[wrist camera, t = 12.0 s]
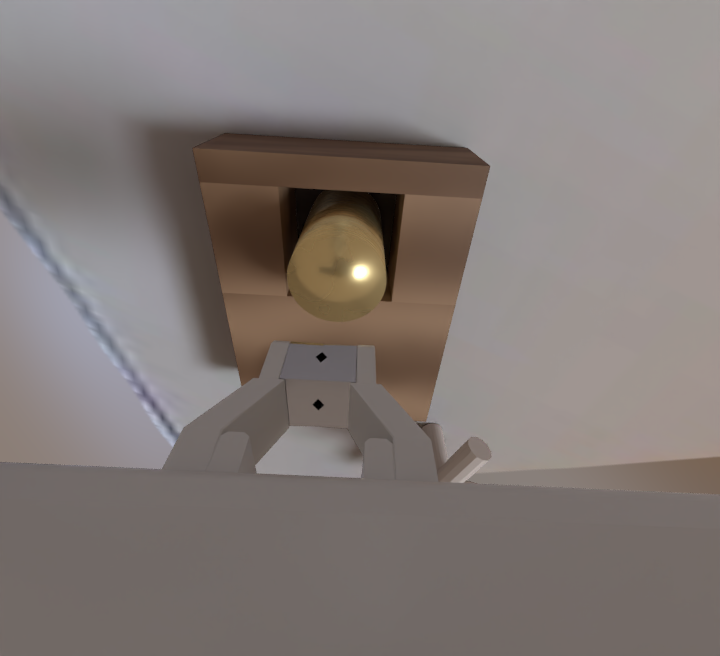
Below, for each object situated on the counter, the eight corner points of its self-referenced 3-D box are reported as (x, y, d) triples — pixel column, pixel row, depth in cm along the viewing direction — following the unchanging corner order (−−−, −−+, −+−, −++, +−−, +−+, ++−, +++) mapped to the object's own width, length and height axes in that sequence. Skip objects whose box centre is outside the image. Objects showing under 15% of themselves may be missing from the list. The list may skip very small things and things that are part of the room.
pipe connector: (450, 473, 34) (475, 596, 26) (356, 447, 32) (352, 573, 24) (515, 411, 29) (572, 542, 21) (407, 374, 27) (424, 506, 19)
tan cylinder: (308, 181, 19) (283, 230, 13) (384, 186, 19) (391, 236, 13) (311, 252, 21) (290, 319, 15) (378, 256, 21) (381, 324, 15)
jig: (224, 133, 17) (164, 160, 12) (467, 147, 18) (509, 181, 12) (261, 371, 27) (236, 443, 22) (419, 379, 27) (431, 452, 22)
